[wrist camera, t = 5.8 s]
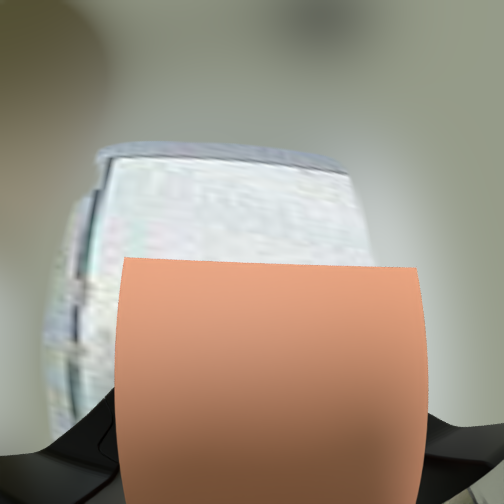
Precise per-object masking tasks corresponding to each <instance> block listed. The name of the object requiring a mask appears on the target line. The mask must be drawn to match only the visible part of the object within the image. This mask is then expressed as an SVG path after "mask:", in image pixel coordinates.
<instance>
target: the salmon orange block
mask: <svg viewBox="0 0 504 504" xmlns="http://www.w3.org/2000/svg"><path fill="white" fill-rule="evenodd" d="M115 418H116V433H117V445H118V455H119V463H120V471H121V478H122V484H123V490H124V495H125V501H126V504H416V499H417V495H418V490H419V485H420V480H421V474H422V468H423V461H424V453H425V444H426V433H427V418H428V358H427V343H426V331H425V321H424V313H423V306H422V299H421V292H420V285H419V280H418V274H417V269H416V268H403V267H402V268H401V267H361V266H325V265H293V264H264V263H238V262H213V261H190V260H168V259H148V258H128V257H124V263H123V270H122V277H121V285H120V294H119V303H118V314H117V326H116V343H115Z"/></svg>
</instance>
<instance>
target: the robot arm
mask: <svg viewBox="0 0 504 504" xmlns="http://www.w3.org/2000/svg"><path fill="white" fill-rule="evenodd" d="M0 504H126V501H125V495H124V490H123V484H122V478H121V471H120V463H119V455H118V445H117V433H116V418H115V387H114V388H113V389H112V390H111V391H110V392H109V393H108V394H107V395H106V396H105V398H103V399H102V400H101V401H100V402H99V403H98V404H97V405H96V406H95V407H94V408H93V409H92V410H91V411H90V412H89V413H88V414H87V415H86V416H85V417H84V418H83V419H82V420H80V421H79V422H78V423H77V424H76V425H75V426H73V427H72V428H71V429H70V430H68V431H67V432H66V433H65V434H63V435H62V436H61V437H60V438H58V439H57V440H56V441H55V442H53V443H52V444H51V445H49V446H48V447H46V448H45V449H43V450H40V451H38V452H34V453H29V454H19V455H8V456H0ZM416 504H504V423H501V424H493V425H484V426H475V427H474V426H473V427H457V426H453V425H450V424H448V423H446V422H444V421H442V420H440V419H438V418H436V417H435V416H433V415H431V414H429V413H428V418H427V433H426V444H425V453H424V461H423V468H422V474H421V480H420V485H419V490H418V495H417V499H416Z"/></svg>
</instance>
